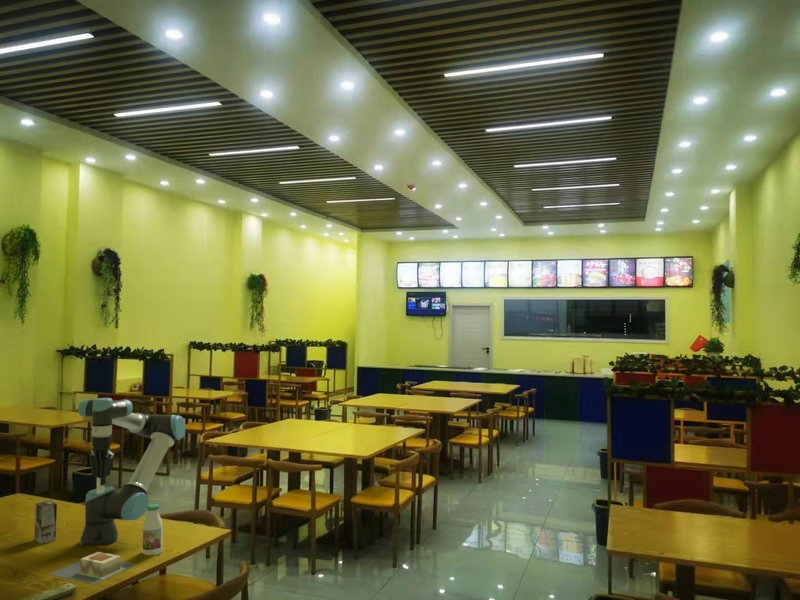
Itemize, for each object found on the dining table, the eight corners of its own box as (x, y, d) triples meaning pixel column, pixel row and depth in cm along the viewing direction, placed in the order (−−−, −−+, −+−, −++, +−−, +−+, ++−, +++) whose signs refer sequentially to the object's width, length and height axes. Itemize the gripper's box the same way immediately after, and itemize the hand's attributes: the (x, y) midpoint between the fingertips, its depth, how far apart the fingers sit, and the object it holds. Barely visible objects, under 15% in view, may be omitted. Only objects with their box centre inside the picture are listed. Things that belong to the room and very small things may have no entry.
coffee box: (56, 540, 267) (57, 503, 267) (40, 544, 262) (41, 507, 263) (49, 535, 273) (50, 499, 274) (33, 539, 268) (34, 502, 269)
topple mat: (48, 576, 228) (48, 574, 228) (93, 557, 246) (93, 555, 246) (94, 586, 219) (94, 584, 219) (137, 566, 237) (137, 564, 237)
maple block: (80, 558, 230) (103, 563, 225) (98, 551, 237) (120, 555, 233) (80, 572, 230) (102, 576, 225) (97, 564, 237) (120, 569, 233)
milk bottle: (146, 550, 255) (147, 502, 256) (164, 549, 255) (165, 502, 256) (139, 557, 247) (140, 508, 248) (158, 556, 248) (159, 507, 249)
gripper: (82, 436, 248) (81, 493, 247) (105, 438, 243) (104, 496, 242) (98, 433, 255) (96, 489, 254) (120, 435, 250) (119, 492, 249)
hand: (100, 492), depth 248 cm, fingers closed
